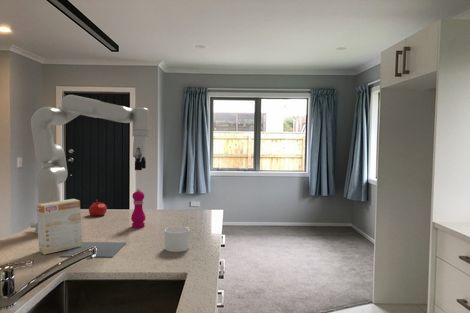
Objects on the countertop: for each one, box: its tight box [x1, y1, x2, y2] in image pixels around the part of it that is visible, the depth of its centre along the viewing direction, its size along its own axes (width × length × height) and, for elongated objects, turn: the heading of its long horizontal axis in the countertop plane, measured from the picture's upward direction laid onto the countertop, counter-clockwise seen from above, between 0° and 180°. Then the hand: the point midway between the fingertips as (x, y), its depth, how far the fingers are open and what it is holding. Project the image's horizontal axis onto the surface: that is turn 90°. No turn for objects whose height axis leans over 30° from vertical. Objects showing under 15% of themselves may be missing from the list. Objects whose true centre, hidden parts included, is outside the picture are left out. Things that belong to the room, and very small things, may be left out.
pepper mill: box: [130, 187, 146, 229], centre depth 192 cm, size 7×7×20 cm
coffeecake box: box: [36, 198, 83, 255], centre depth 151 cm, size 15×7×20 cm, turn 134°
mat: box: [59, 241, 127, 258], centre depth 152 cm, size 20×19×1 cm
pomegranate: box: [88, 199, 108, 217], centre depth 217 cm, size 10×10×9 cm
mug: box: [164, 226, 191, 253], centre depth 156 cm, size 13×10×8 cm
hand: (140, 169), depth 178 cm, fingers open, 9 cm apart
